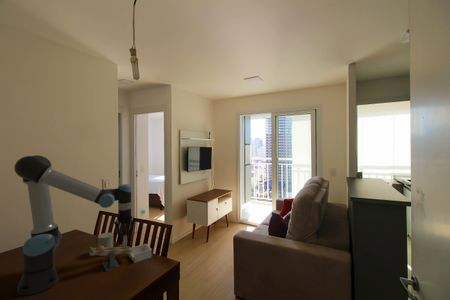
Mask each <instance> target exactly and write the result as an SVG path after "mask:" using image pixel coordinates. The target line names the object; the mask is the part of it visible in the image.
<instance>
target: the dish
mask: <svg viewBox="0 0 450 300" xmlns="http://www.w3.org/2000/svg"><path fill="white" fill-rule="evenodd" d="M130 249H132V252H131V253H130V254H128V257H129V259H131V261H132V262H133V263H134V264H136V263H138V262H142V261H145V260H148V259H152V258H153V249H152V248H151V247H150V246H149V245H148V244H147V243H144V244H140V245H136V246H132V247H130Z"/></svg>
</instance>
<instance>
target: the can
mask: <svg viewBox="0 0 450 300" xmlns="http://www.w3.org/2000/svg"><path fill="white" fill-rule="evenodd" d="M99 246H104V248H110V247H114V232H113V233H112V232H104V233H100V234H98V235H97V248H98V247H99ZM98 256H99V257H105V256H106V257H107V255H98Z"/></svg>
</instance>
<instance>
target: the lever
mask: <svg viewBox="0 0 450 300" xmlns="http://www.w3.org/2000/svg"><path fill="white" fill-rule="evenodd" d="M130 248H131V246H128V245H127V246H125V247H123V246H122V244H120V245H118V247H116V246H115V247H114V246H113V247H110V248H104V250H103V251H98V247H93V246H90V247H89V251H88V253H89V256H91V257H92V256H99V255H106V256H107V255H110V254H114V253H115V255H126V254H127V255H129V254H130V253H131V252H132V249H130Z"/></svg>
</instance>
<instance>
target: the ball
mask: <svg viewBox="0 0 450 300" xmlns="http://www.w3.org/2000/svg"><path fill="white" fill-rule="evenodd" d="M97 248H98V251H103V250H104V246H99V247H98V246H97Z"/></svg>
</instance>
